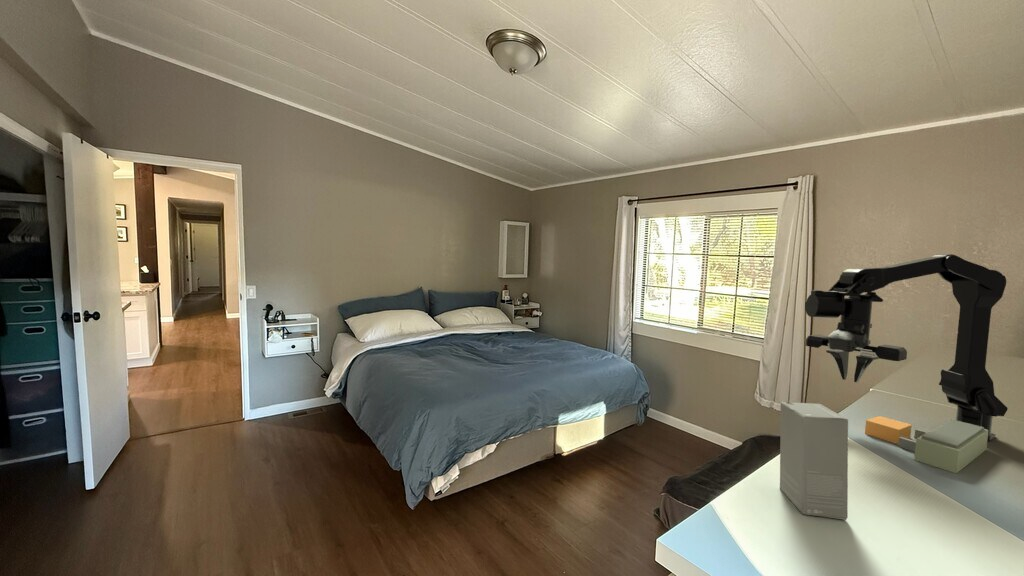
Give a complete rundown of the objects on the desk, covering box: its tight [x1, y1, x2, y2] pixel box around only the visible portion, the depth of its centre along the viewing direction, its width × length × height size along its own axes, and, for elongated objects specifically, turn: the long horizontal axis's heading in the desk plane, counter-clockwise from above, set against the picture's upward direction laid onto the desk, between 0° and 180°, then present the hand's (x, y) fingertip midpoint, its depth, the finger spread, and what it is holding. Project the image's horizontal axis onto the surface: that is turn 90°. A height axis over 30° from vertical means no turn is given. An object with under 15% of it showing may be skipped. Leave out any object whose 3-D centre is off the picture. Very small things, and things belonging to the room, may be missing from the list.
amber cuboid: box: [864, 415, 913, 445], centre depth 95 cm, size 7×6×4 cm
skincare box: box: [779, 401, 849, 521], centre depth 66 cm, size 8×7×16 cm
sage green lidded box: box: [897, 419, 988, 474], centre depth 88 cm, size 22×10×5 cm, turn 121°
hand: (850, 380), depth 102 cm, fingers open, 2 cm apart
